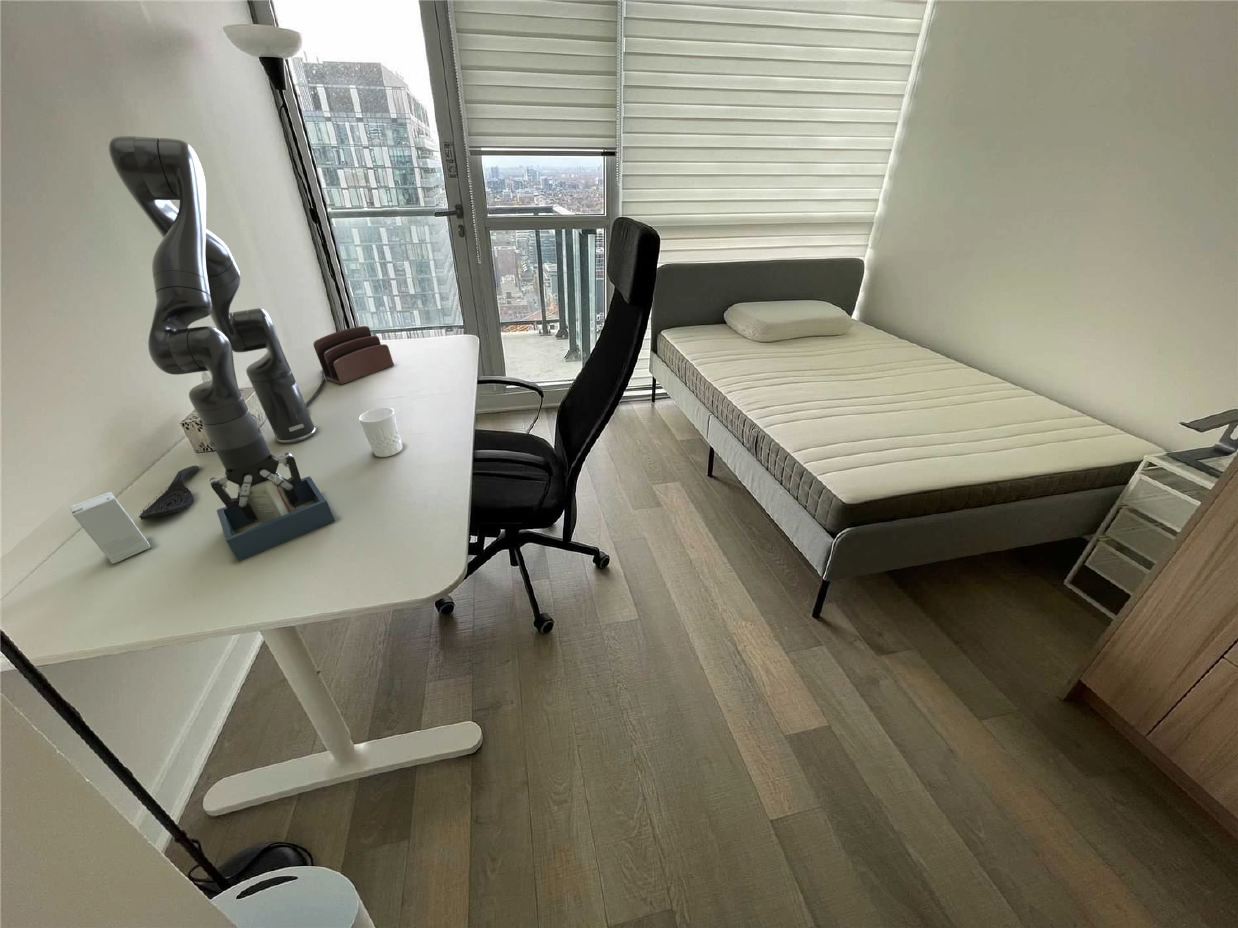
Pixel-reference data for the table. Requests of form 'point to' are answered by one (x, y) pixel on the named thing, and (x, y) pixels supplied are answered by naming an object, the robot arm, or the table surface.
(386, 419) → the white cup
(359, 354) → the letter holder
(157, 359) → the robot arm
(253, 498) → the white rectangular carton
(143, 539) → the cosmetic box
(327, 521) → the blue open box
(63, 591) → the table surface
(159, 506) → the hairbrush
